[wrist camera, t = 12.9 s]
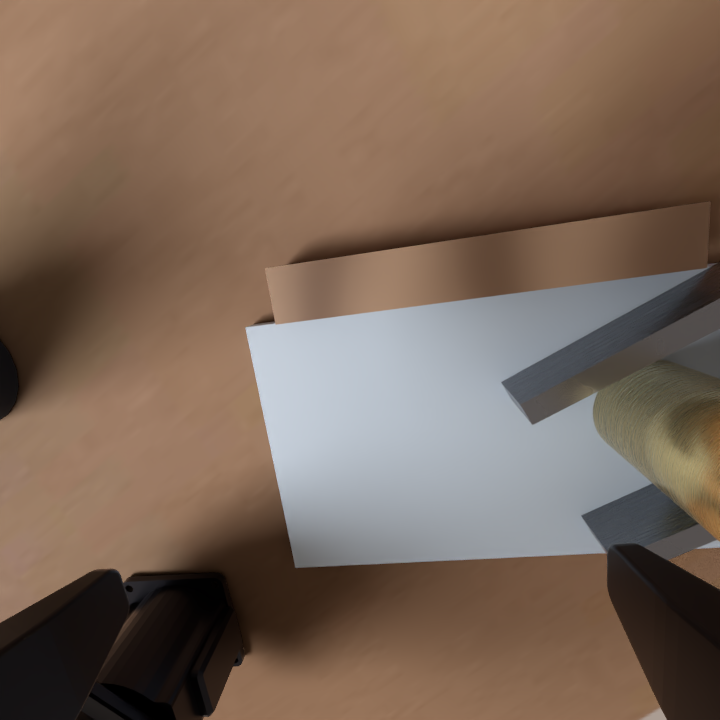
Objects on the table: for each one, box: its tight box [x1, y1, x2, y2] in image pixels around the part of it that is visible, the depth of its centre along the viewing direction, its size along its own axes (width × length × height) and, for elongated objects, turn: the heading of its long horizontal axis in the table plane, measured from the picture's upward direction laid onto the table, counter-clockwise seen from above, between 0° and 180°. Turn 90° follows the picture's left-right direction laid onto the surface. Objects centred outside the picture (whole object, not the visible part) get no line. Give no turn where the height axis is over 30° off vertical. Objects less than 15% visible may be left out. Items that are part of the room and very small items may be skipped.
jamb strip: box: [265, 201, 711, 325], centre depth 17 cm, size 17×2×2 cm, turn 98°
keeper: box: [501, 262, 720, 560], centre depth 16 cm, size 10×9×3 cm
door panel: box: [245, 263, 720, 568], centre depth 19 cm, size 25×14×1 cm, turn 98°
